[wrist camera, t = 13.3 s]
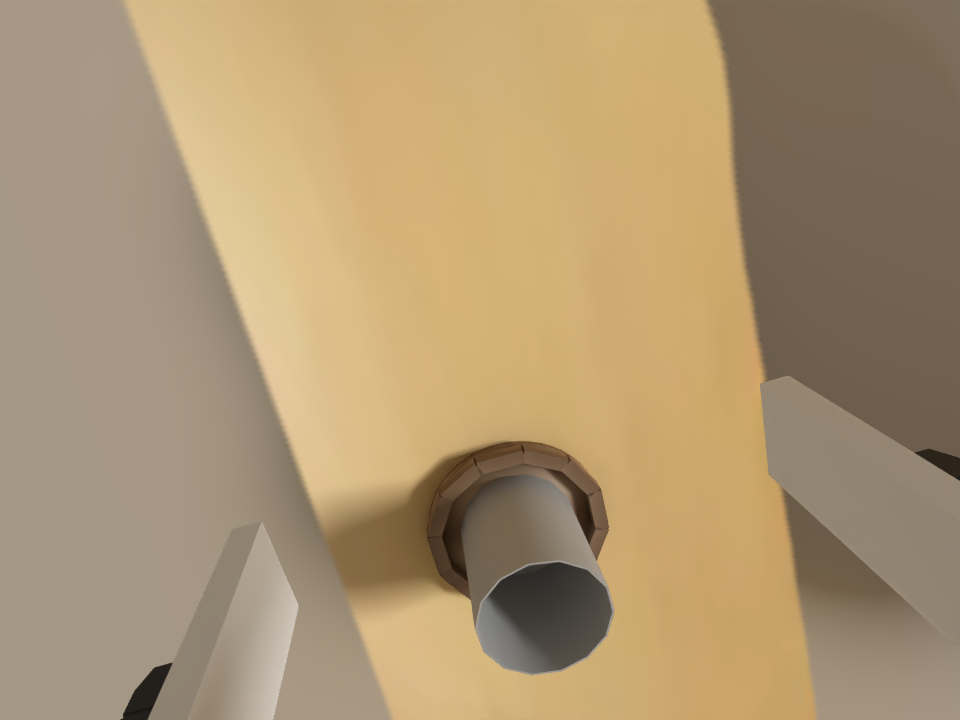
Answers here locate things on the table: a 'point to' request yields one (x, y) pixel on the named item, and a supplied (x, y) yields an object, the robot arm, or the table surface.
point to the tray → (492, 467)
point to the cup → (532, 577)
